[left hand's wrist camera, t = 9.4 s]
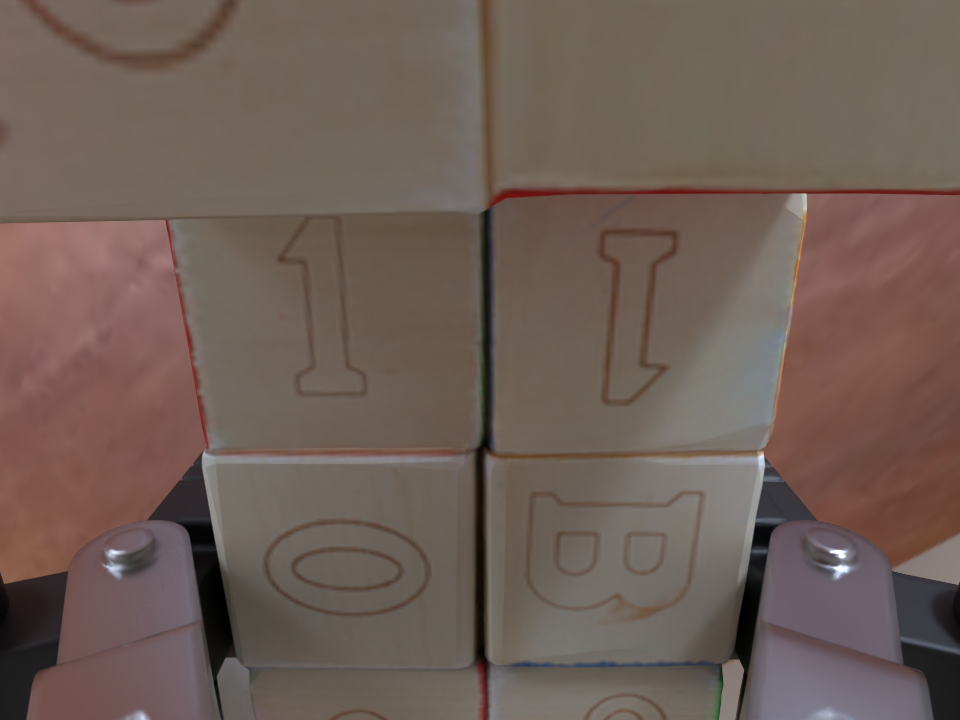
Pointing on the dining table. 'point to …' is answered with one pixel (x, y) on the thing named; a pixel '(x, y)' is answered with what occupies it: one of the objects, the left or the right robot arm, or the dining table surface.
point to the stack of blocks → (479, 308)
